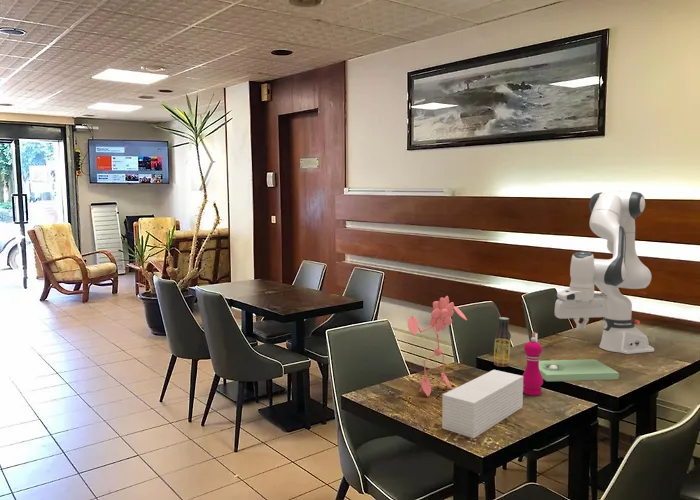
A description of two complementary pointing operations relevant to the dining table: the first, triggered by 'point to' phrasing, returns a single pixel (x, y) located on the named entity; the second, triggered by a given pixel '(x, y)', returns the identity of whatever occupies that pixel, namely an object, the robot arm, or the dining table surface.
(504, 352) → the sauce bottle
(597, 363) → the mat
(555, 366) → the ball
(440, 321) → the pink humanoid figure
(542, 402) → the dining table surface
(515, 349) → the dining table surface
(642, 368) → the dining table surface
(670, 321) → the dining table surface
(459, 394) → the stack of papers
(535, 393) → the pepper mill
